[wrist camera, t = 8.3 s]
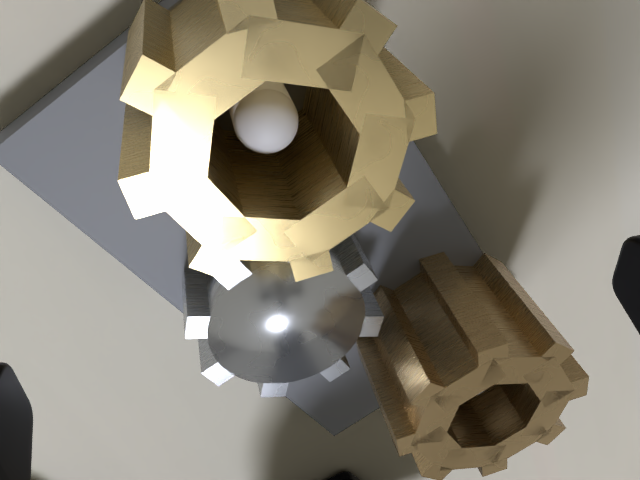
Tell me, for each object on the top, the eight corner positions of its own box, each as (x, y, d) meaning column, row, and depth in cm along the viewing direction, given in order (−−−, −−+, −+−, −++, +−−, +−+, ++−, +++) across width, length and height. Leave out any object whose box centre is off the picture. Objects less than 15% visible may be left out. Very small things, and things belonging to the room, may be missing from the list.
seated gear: (536, 320, 26) (607, 409, 22) (405, 401, 27) (450, 501, 23) (476, 220, 22) (550, 307, 18) (325, 321, 23) (362, 424, 19)
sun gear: (392, 282, 22) (416, 326, 20) (257, 372, 23) (267, 422, 21) (298, 165, 19) (316, 204, 17) (141, 277, 20) (140, 327, 18)
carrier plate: (506, 295, 26) (573, 383, 22) (326, 410, 28) (357, 512, 24) (268, -86, 16) (309, -57, 12) (-2, 132, 17) (-51, 227, 13)
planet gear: (393, -27, 16) (474, 18, 12) (339, 192, 20) (388, 284, 16) (131, -78, 14) (122, -44, 10) (124, 177, 17) (115, 278, 13)
